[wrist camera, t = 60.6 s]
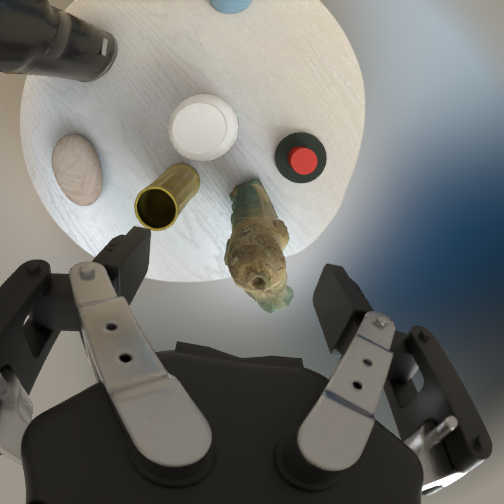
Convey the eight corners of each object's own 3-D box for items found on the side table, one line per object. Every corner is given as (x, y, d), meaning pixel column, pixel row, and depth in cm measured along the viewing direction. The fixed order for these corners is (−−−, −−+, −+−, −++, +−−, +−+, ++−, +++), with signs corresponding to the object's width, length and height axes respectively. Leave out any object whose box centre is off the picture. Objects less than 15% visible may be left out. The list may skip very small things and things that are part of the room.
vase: (175, 155, 40) (145, 172, 27) (207, 176, 42) (192, 201, 29) (155, 187, 42) (122, 217, 29) (187, 207, 44) (165, 244, 31)
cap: (309, 173, 42) (314, 177, 39) (285, 168, 41) (288, 172, 38) (314, 149, 40) (319, 151, 37) (289, 144, 39) (293, 145, 37)
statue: (249, 235, 47) (257, 345, 24) (221, 194, 43) (201, 278, 21) (285, 215, 45) (327, 311, 23) (259, 171, 42) (281, 233, 19)
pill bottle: (176, 116, 37) (146, 114, 24) (225, 92, 36) (217, 76, 23) (200, 161, 41) (181, 179, 28) (247, 138, 39) (251, 145, 27)
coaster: (264, 161, 41) (265, 162, 41) (297, 122, 38) (297, 122, 38) (303, 192, 44) (304, 193, 43) (335, 155, 41) (336, 155, 40)
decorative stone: (117, 190, 42) (105, 198, 37) (80, 208, 43) (66, 218, 38) (92, 122, 36) (77, 123, 32) (55, 146, 37) (39, 150, 33)
